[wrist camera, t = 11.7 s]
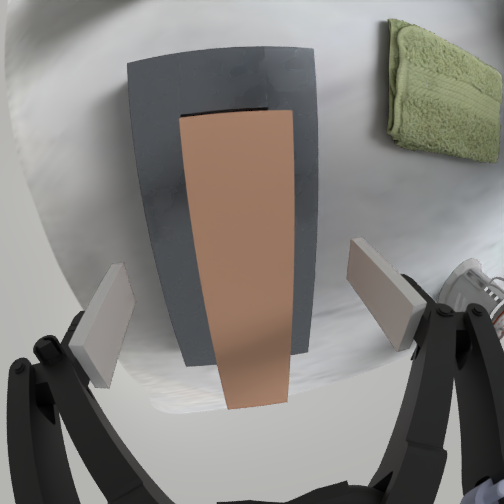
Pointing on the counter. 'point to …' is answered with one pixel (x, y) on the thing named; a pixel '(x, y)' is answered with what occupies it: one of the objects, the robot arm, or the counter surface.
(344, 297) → the counter surface
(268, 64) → the grey slotted base block
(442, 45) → the washcloth
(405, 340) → the robot arm
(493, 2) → the counter surface
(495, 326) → the french press
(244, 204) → the staple
